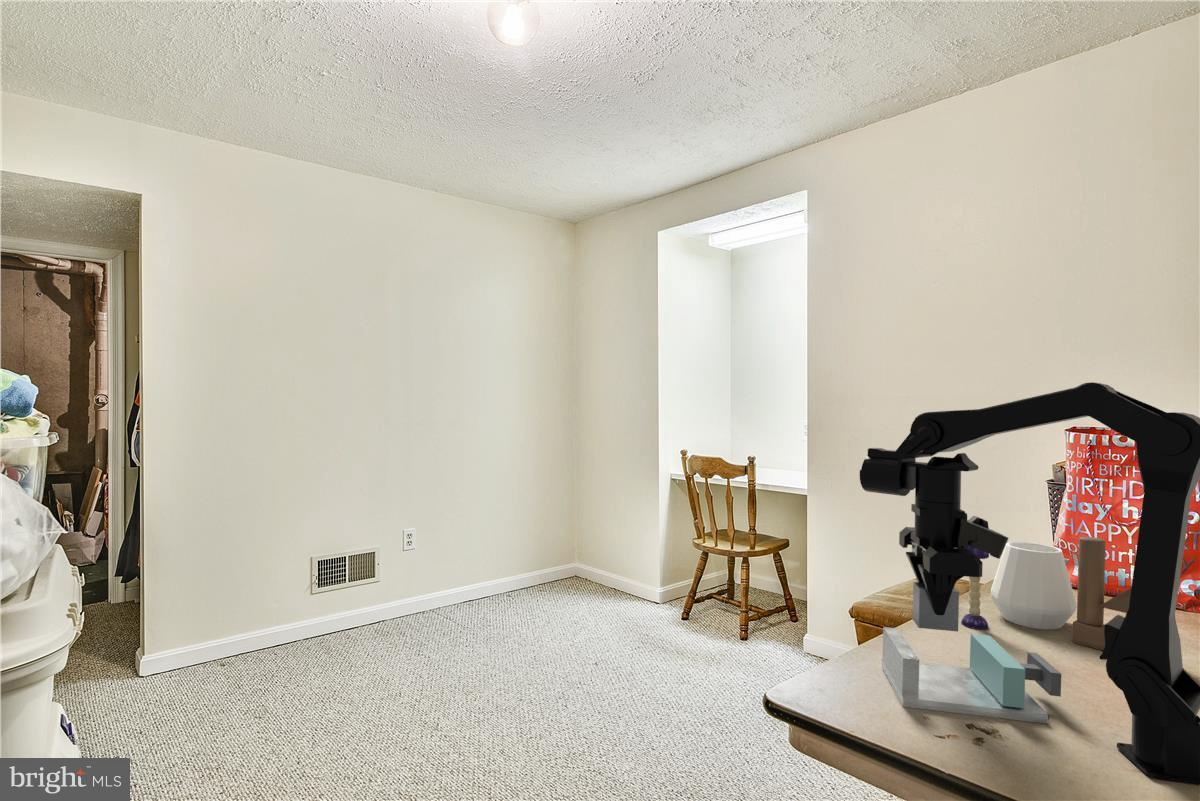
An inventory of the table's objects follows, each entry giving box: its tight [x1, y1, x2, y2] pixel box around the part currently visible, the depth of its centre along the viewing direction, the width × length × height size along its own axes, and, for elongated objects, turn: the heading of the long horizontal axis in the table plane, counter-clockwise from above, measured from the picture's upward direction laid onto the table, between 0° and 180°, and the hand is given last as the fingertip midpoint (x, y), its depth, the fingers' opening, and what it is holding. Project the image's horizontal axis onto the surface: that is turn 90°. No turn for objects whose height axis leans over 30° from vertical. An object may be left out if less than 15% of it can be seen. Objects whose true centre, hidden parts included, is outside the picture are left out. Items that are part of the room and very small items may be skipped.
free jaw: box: [969, 633, 1062, 708], centre depth 88 cm, size 12×8×5 cm, turn 168°
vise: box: [880, 626, 1049, 724], centre depth 89 cm, size 13×17×6 cm
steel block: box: [912, 581, 960, 632], centre depth 91 cm, size 4×5×6 cm
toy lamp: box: [960, 545, 990, 630], centre depth 117 cm, size 5×5×17 cm
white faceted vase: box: [990, 541, 1077, 631], centre depth 120 cm, size 13×13×14 cm
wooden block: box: [1071, 536, 1131, 652], centre depth 106 cm, size 4×11×18 cm, turn 35°
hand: (935, 610), depth 91 cm, fingers closed on steel block, 3 cm apart
